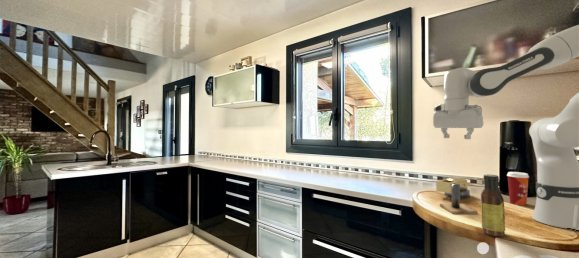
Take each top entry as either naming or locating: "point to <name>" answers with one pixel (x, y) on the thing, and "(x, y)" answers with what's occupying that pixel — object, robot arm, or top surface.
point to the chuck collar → (450, 184)
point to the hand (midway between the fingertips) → (456, 138)
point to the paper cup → (518, 187)
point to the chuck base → (461, 194)
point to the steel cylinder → (456, 195)
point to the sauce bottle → (492, 207)
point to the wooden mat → (459, 209)
